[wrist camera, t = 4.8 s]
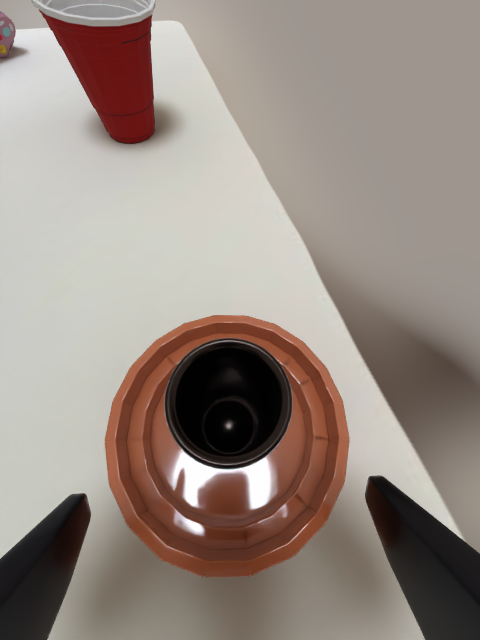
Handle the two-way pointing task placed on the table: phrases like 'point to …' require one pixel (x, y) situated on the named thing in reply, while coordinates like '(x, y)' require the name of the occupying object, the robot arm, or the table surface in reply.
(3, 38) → the video game controller
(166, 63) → the table surface
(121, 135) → the plastic cup
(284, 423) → the grey hollow cylinder
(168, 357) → the bowl
